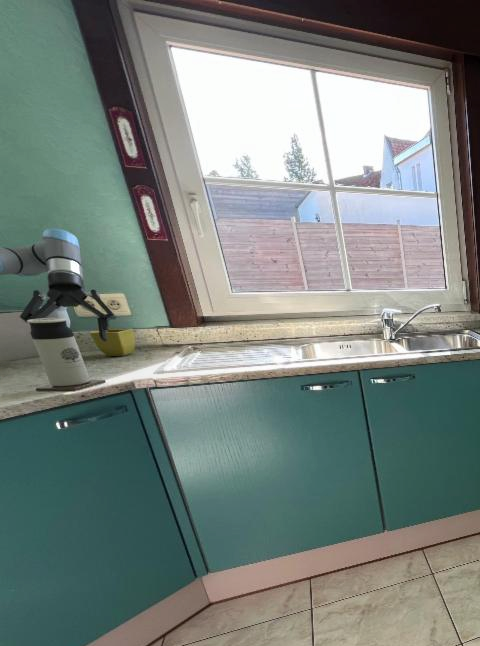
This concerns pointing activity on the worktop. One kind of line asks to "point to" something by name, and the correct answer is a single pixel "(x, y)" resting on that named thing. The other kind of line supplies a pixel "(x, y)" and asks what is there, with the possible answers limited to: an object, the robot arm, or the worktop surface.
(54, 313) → the chalice
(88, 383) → the coaster
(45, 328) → the travel mug
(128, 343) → the flower pot
